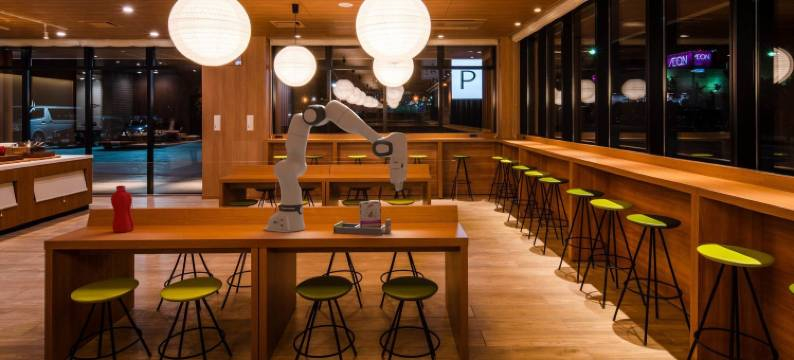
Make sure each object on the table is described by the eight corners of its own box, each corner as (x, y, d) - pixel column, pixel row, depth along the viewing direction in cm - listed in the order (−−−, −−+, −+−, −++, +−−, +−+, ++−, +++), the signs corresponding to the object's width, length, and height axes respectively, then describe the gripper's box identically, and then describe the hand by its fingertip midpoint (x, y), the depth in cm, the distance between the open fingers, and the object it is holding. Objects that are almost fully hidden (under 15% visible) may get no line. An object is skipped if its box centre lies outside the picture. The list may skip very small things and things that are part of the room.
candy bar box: (379, 230, 286) (379, 200, 284) (381, 232, 281) (381, 201, 279) (359, 231, 284) (359, 201, 282) (360, 233, 279) (360, 202, 277)
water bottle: (127, 233, 282) (124, 187, 279) (109, 232, 284) (106, 186, 281) (139, 229, 291) (136, 184, 288) (122, 229, 293) (119, 184, 290)
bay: (333, 232, 282) (333, 225, 281) (341, 228, 293) (341, 221, 293) (381, 235, 275) (381, 227, 274) (387, 230, 286) (387, 223, 286)
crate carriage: (354, 232, 280) (354, 219, 280) (360, 229, 289) (360, 216, 288) (387, 234, 275) (387, 221, 275) (392, 231, 284) (392, 218, 283)
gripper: (398, 162, 285) (398, 187, 286) (387, 165, 265) (387, 192, 267) (409, 162, 283) (409, 187, 285) (399, 165, 264) (399, 193, 265)
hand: (398, 190), depth 276 cm, fingers open, 4 cm apart
